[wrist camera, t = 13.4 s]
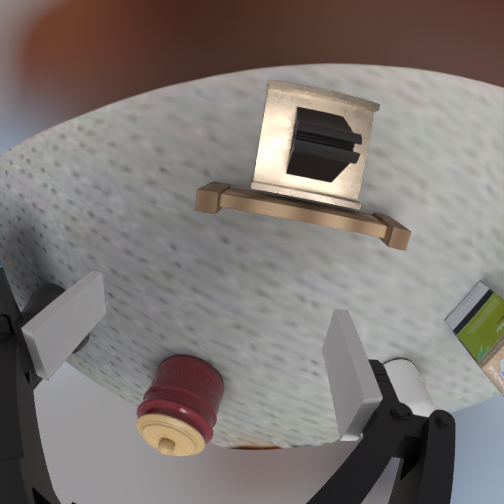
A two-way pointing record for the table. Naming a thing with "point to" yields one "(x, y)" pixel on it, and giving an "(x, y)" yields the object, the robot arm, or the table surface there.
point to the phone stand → (321, 145)
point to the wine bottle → (409, 387)
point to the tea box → (482, 330)
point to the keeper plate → (280, 136)
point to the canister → (180, 406)
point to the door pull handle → (301, 212)
